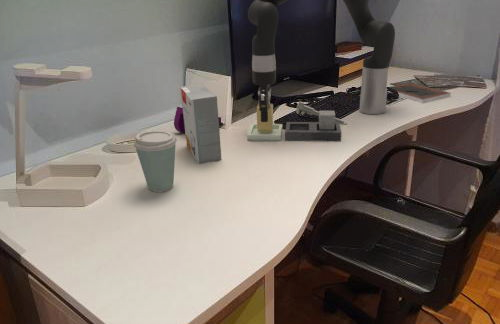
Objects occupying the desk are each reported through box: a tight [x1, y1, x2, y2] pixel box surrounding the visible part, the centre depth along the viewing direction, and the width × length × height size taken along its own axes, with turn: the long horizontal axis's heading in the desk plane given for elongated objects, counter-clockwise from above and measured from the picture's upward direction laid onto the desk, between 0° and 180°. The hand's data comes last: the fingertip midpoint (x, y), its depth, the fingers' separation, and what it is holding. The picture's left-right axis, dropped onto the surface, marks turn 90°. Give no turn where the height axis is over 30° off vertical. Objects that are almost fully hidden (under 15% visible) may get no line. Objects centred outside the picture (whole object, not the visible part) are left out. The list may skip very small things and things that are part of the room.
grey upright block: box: [318, 110, 336, 131], centre depth 138 cm, size 5×5×8 cm
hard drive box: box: [179, 83, 222, 165], centre depth 126 cm, size 16×8×20 cm, turn 21°
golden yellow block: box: [256, 103, 274, 132], centre depth 139 cm, size 5×5×8 cm
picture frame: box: [388, 82, 452, 104], centre depth 180 cm, size 16×2×22 cm
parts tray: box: [246, 123, 283, 142], centre depth 142 cm, size 11×11×2 cm
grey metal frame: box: [284, 121, 342, 142], centre depth 139 cm, size 18×10×3 cm, turn 83°
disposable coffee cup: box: [133, 129, 178, 193], centre depth 107 cm, size 11×11×15 cm
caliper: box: [295, 100, 348, 126], centre depth 153 cm, size 20×1×6 cm, turn 55°
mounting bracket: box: [173, 106, 222, 134], centre depth 149 cm, size 9×8×18 cm
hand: (265, 118), depth 140 cm, fingers closed on golden yellow block, 5 cm apart
